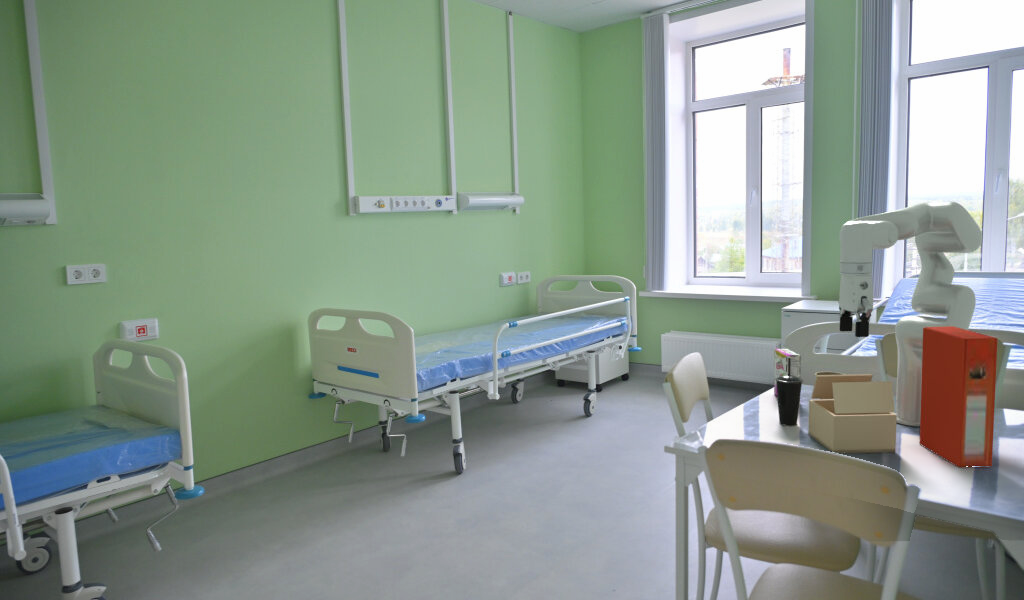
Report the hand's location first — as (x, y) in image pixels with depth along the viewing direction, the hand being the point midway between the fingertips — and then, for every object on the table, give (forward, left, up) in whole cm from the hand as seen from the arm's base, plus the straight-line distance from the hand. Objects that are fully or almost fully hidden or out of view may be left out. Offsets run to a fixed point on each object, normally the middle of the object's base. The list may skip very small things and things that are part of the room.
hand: (853, 333), depth 179 cm
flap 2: (0, +6, -16) cm, 17 cm away
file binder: (-21, +10, -31) cm, 38 cm away
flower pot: (-13, -43, -31) cm, 55 cm away
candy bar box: (+1, -46, -31) cm, 55 cm away
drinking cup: (+10, -18, -31) cm, 37 cm away
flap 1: (0, -6, -16) cm, 17 cm away
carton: (0, 0, -30) cm, 30 cm away
